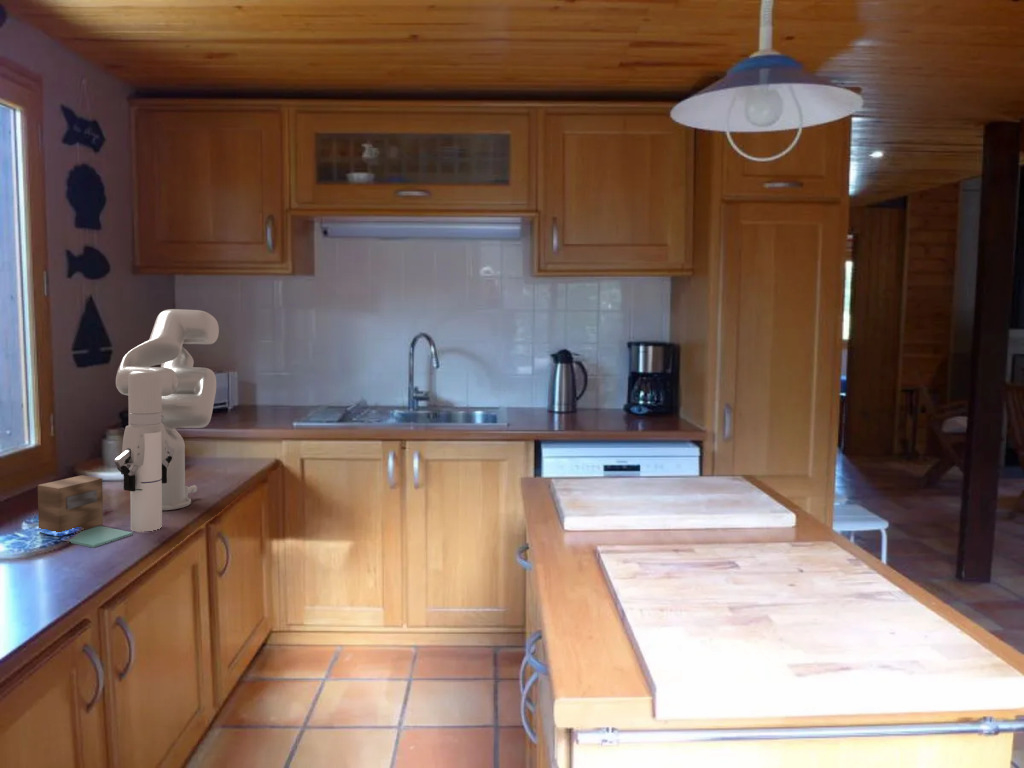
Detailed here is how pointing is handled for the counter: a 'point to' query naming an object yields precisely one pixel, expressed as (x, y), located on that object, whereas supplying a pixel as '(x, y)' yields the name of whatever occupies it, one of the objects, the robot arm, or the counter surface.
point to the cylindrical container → (148, 487)
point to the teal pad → (98, 536)
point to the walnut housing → (70, 503)
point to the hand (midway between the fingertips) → (145, 486)
